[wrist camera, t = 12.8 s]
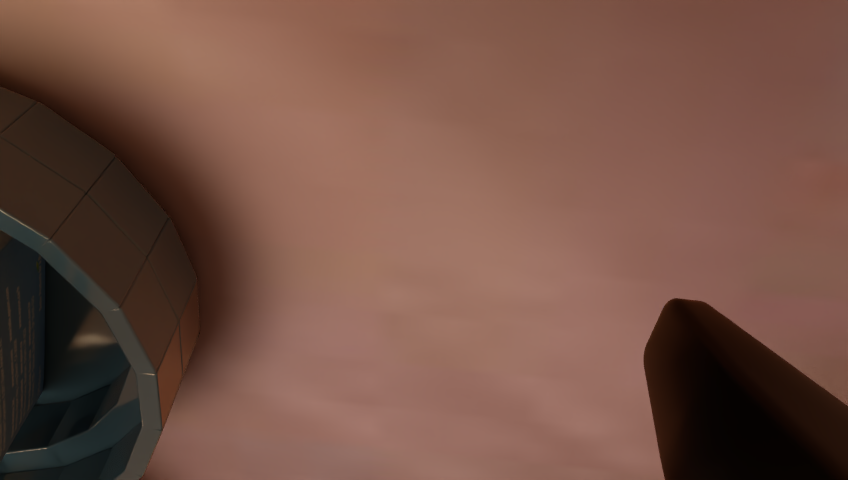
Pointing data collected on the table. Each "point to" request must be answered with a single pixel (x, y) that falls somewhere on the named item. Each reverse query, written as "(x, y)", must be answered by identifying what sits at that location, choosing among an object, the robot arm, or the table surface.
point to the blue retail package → (20, 335)
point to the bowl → (94, 300)
